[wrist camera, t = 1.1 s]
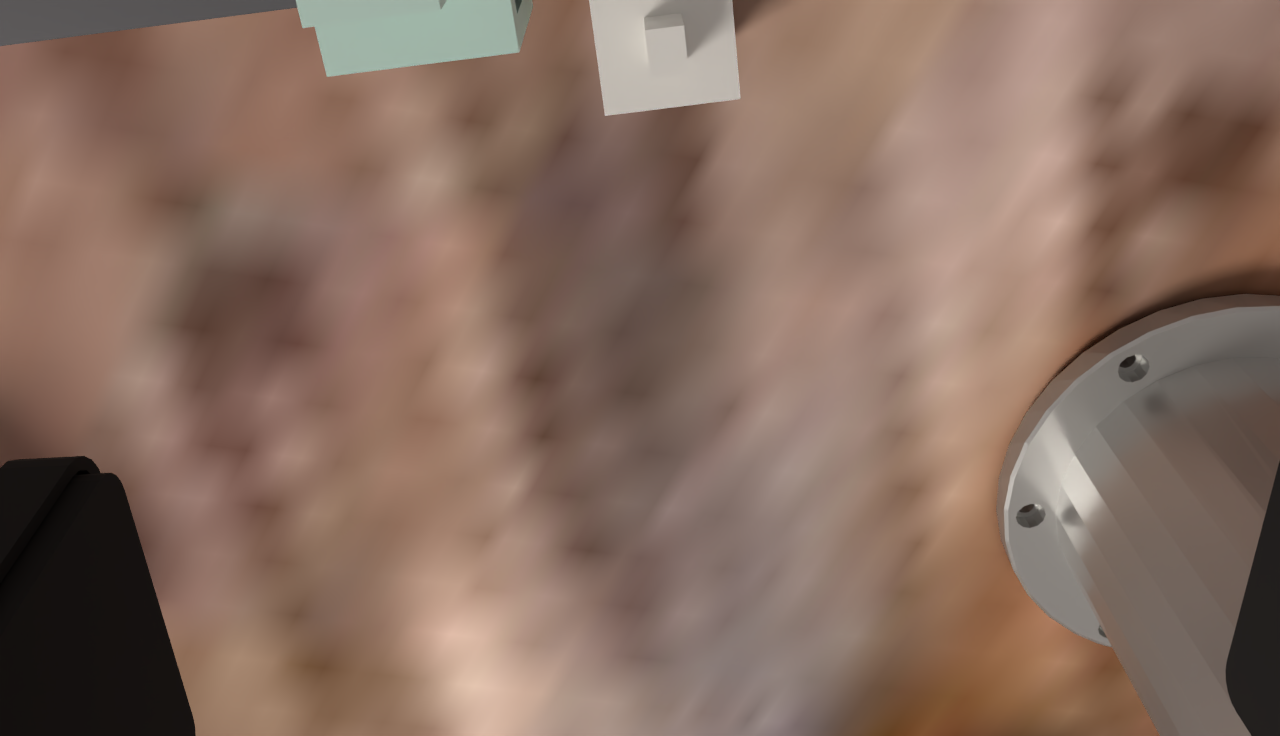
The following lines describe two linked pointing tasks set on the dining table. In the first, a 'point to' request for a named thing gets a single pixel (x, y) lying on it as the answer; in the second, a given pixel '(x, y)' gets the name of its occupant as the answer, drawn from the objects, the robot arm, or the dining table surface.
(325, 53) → the sleeve
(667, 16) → the rail
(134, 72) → the dining table surface
